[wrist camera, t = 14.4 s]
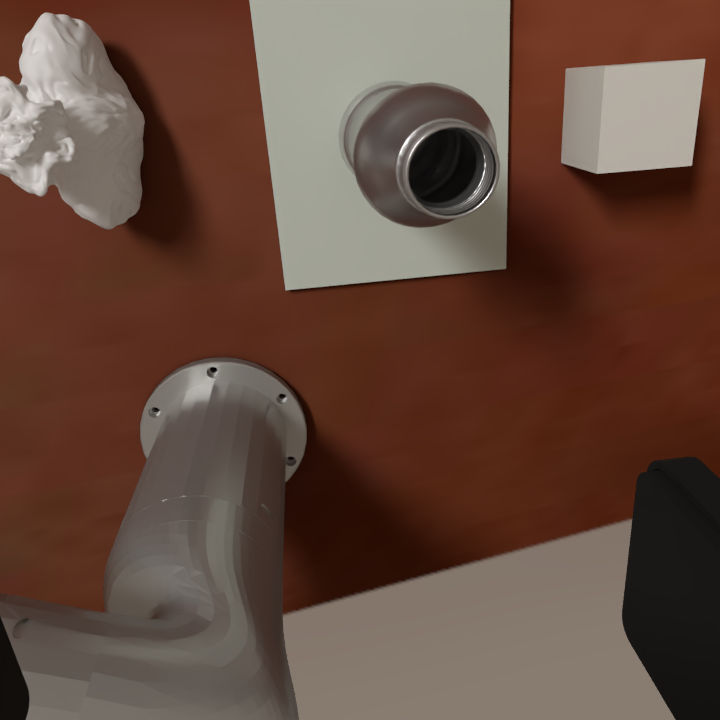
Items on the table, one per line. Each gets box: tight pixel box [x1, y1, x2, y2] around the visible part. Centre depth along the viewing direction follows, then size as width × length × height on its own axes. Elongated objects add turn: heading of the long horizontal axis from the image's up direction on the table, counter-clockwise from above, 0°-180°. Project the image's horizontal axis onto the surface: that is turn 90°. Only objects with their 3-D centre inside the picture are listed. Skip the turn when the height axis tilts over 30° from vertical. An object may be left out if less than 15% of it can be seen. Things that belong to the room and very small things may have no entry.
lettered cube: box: [561, 59, 705, 174], centre depth 42 cm, size 6×6×6 cm
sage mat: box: [249, 0, 510, 290], centre depth 43 cm, size 20×16×1 cm
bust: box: [0, 13, 145, 229], centre depth 38 cm, size 12×8×11 cm
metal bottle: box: [339, 81, 500, 228], centre depth 34 cm, size 6×7×20 cm
